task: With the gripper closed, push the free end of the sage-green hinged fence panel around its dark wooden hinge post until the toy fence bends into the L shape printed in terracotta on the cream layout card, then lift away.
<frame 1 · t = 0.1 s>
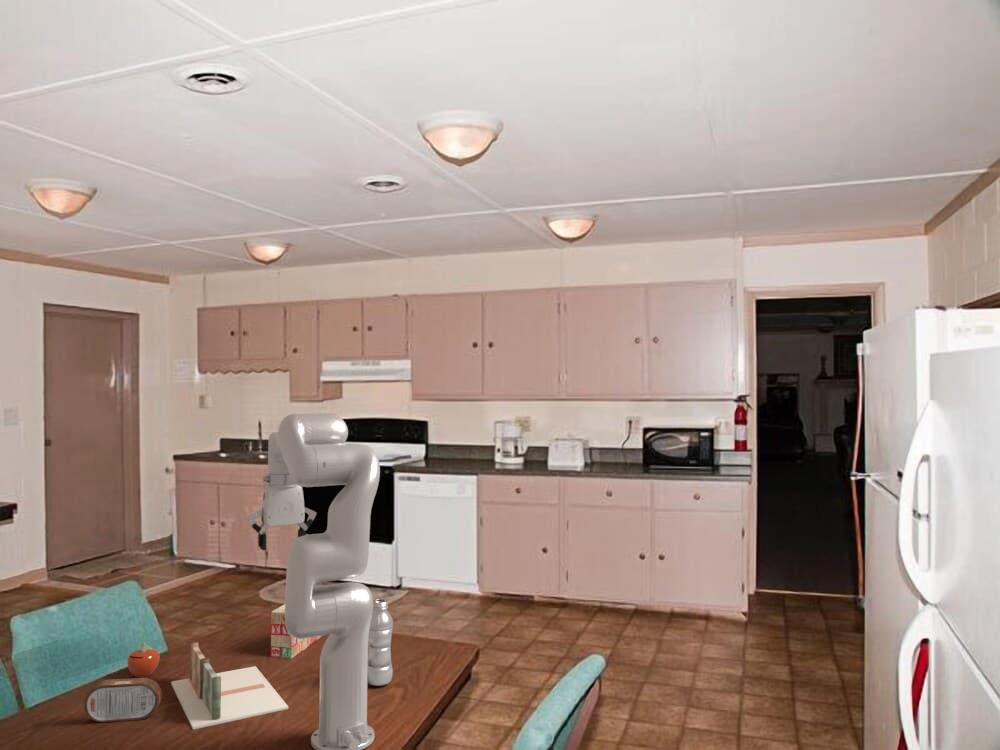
hand: (282, 547, 190), 31 cm above the table, tool pointing down, fingers open, 9 cm apart
fixed fence: (204, 699, 171), resting on layout card
tomato: (143, 675, 186), on the table
stack of blocks: (299, 646, 209), on the table
layout card: (227, 695, 173), on the table
swing panel: (211, 689, 165), point 5 cm above the table, hinge at 0.0°
tin: (122, 720, 160), on the table
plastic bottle: (379, 684, 181), on the table
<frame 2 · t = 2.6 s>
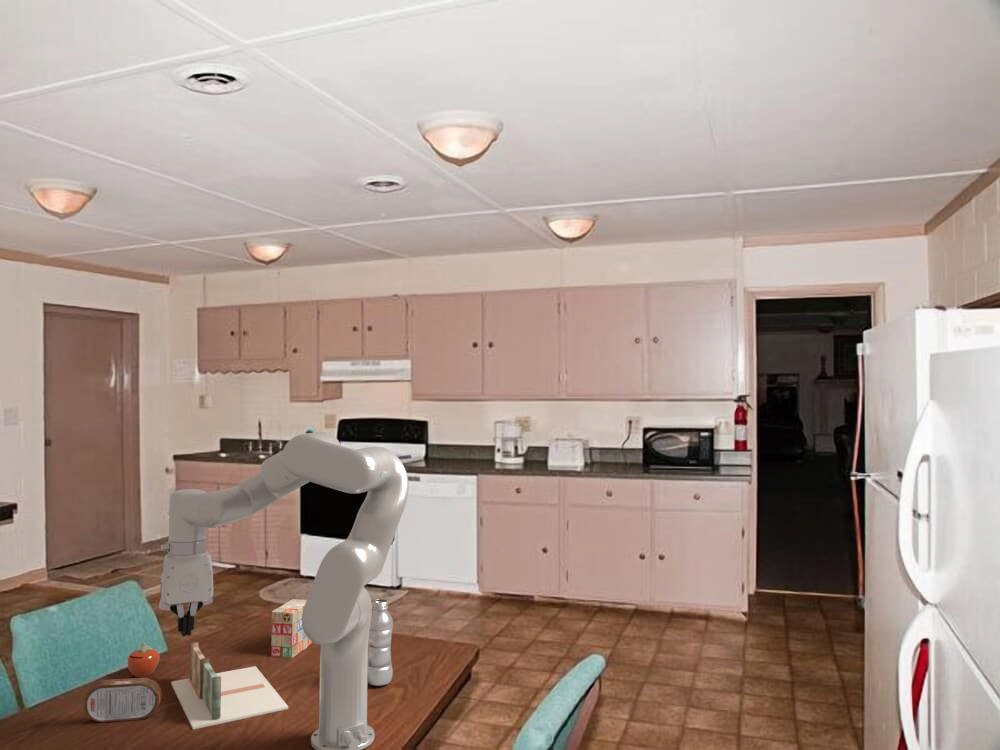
hand: (185, 633, 159), 19 cm above the table, tool pointing down, fingers closed
nothing on the table moved.
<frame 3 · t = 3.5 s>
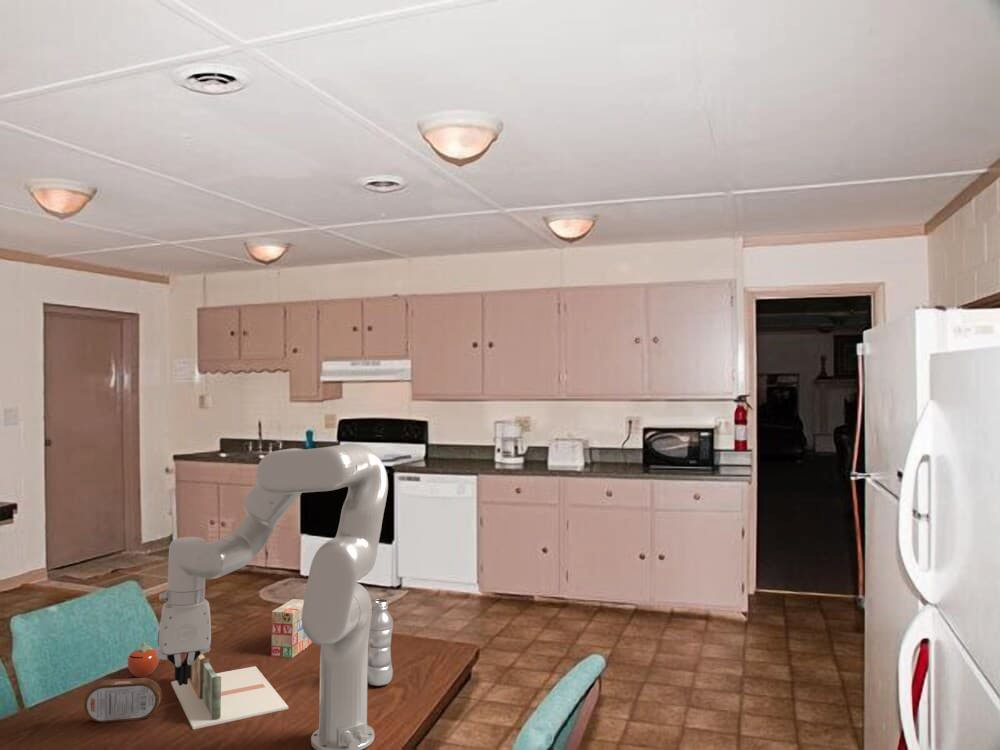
hand: (182, 682, 159), 9 cm above the table, tool pointing down, fingers closed
nothing on the table moved.
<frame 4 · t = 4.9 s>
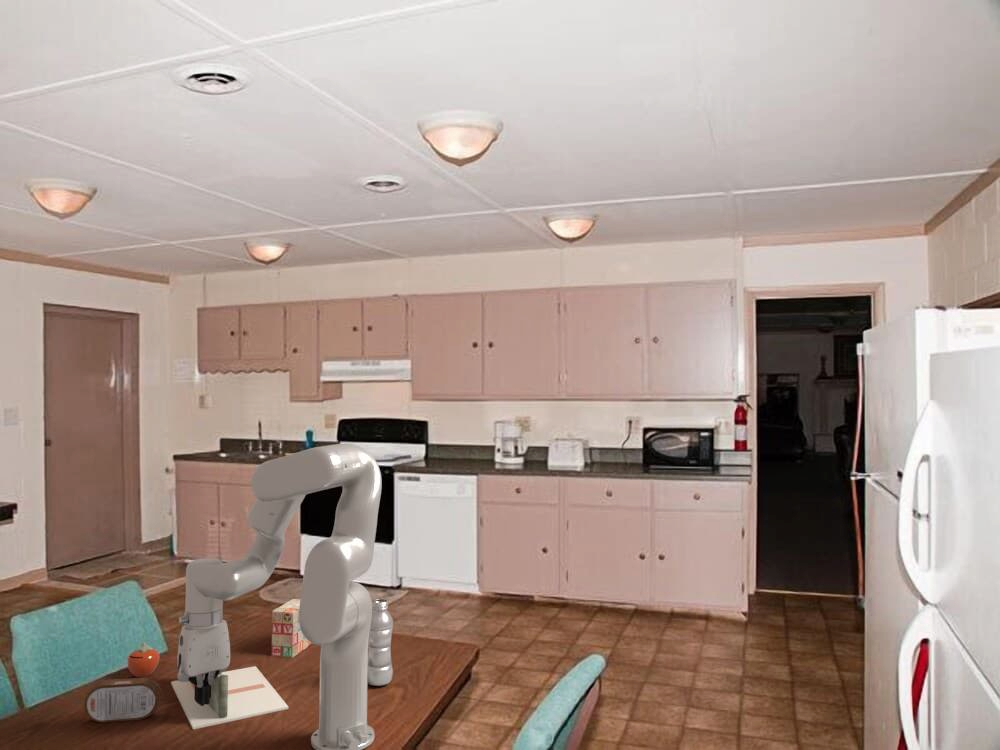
hand: (202, 703, 161), 4 cm above the table, tool pointing down, fingers closed
swing panel: (215, 688, 165), point 5 cm above the table, hinge at 6.5°, touching gripper
everything else where it was.
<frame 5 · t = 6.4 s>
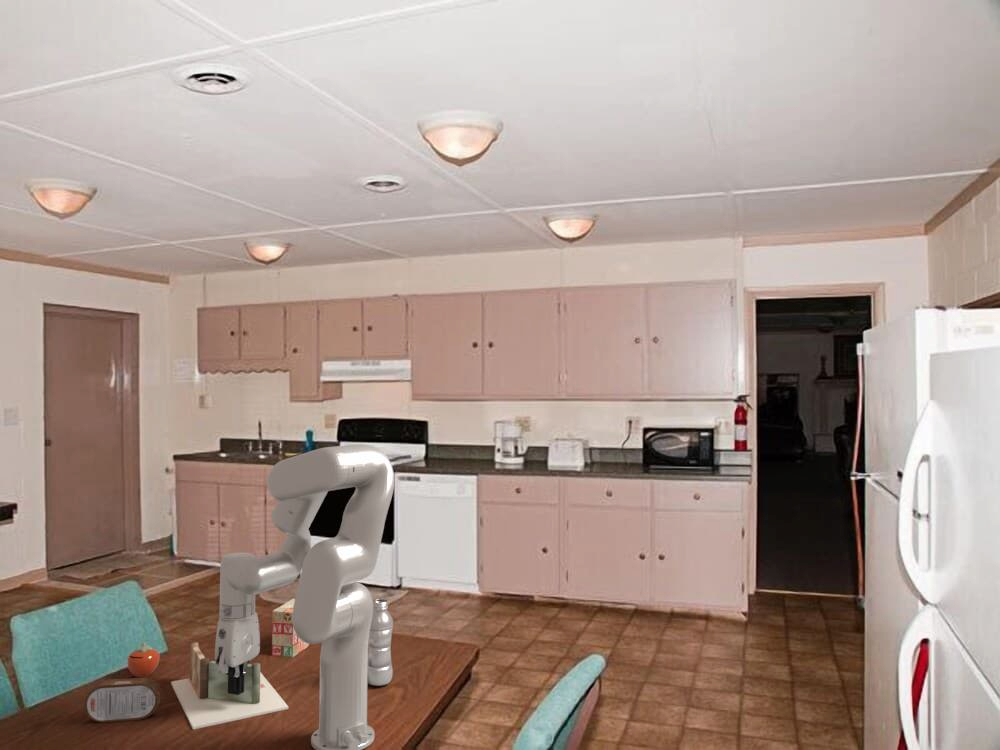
hand: (235, 692, 166), 4 cm above the table, tool pointing down, fingers closed
swing panel: (234, 680, 170), point 5 cm above the table, hinge at 45.8°, touching gripper
everything else where it was.
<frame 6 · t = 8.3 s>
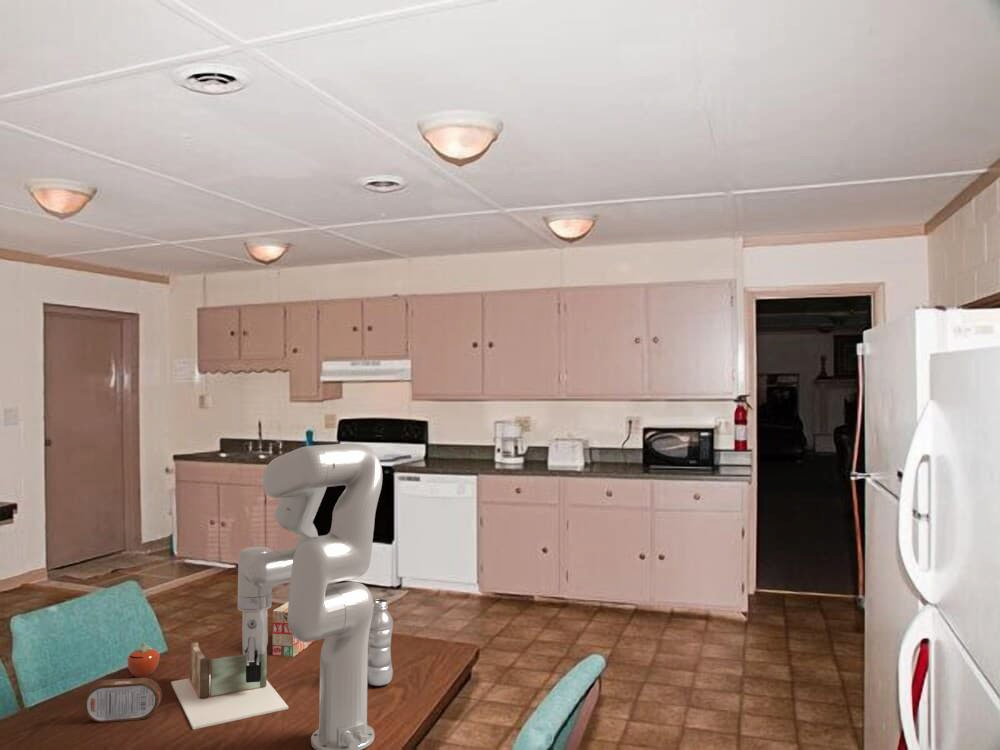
hand: (253, 680, 173), 4 cm above the table, tool pointing down, fingers closed
swing panel: (239, 672, 175), point 5 cm above the table, hinge at 87.8°, touching gripper
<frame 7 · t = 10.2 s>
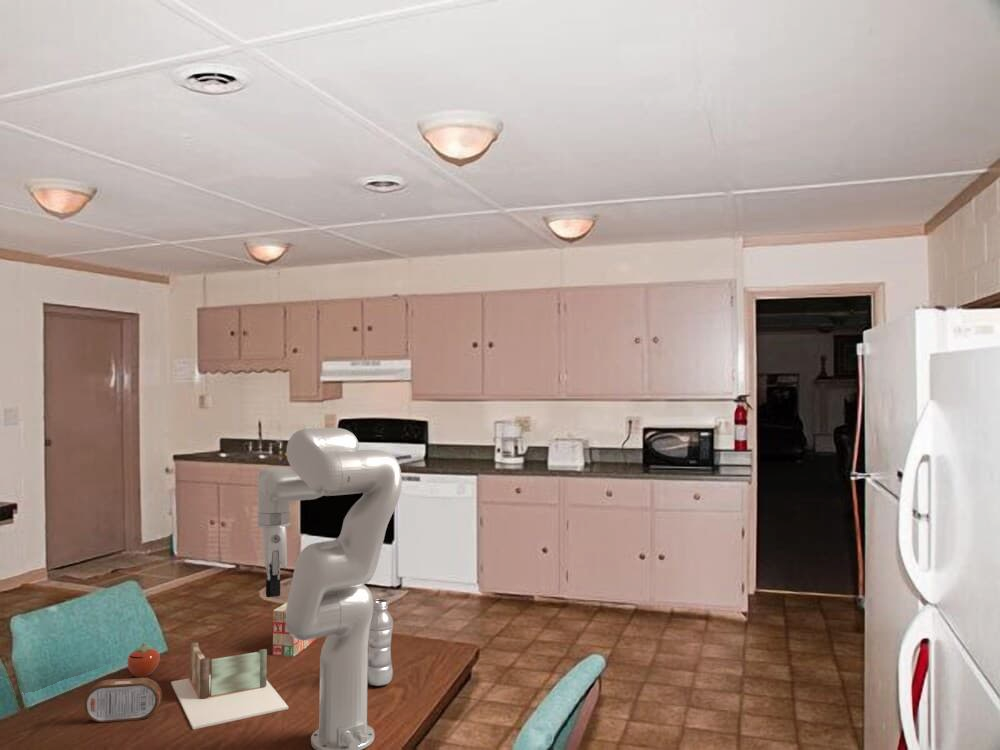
hand: (272, 595, 179), 22 cm above the table, tool pointing down, fingers closed
swing panel: (239, 672, 175), point 5 cm above the table, hinge at 87.9°
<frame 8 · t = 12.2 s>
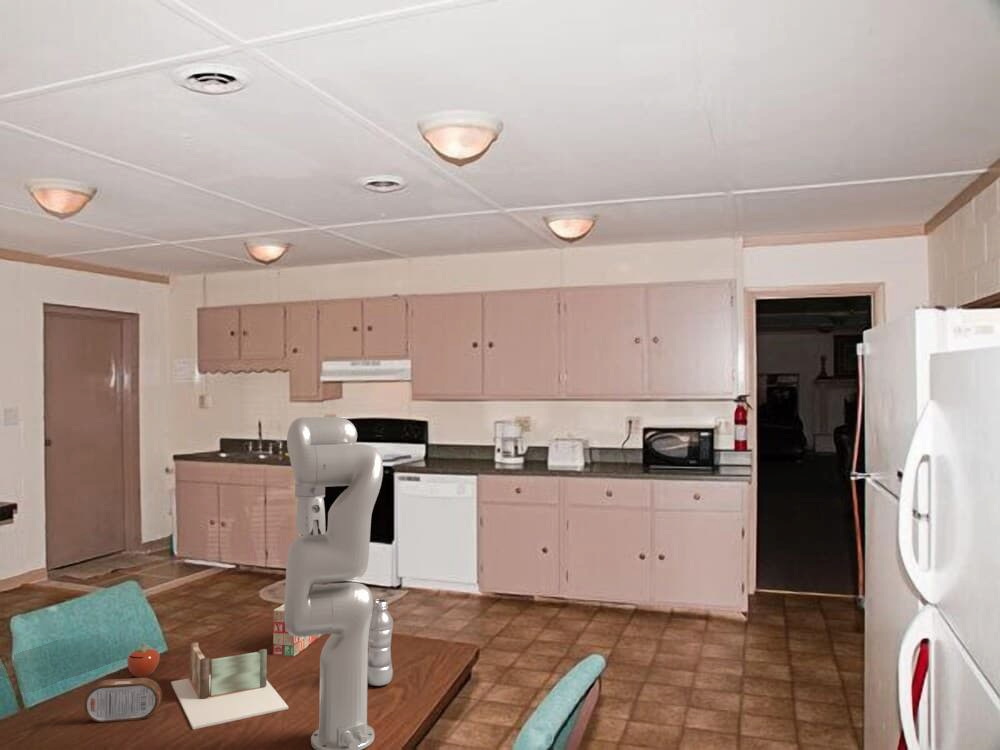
hand: (309, 562, 191), 27 cm above the table, tool pointing down, fingers closed
at the end: swing panel at +88° (first picture: +0°); the gripper is holding nothing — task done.
